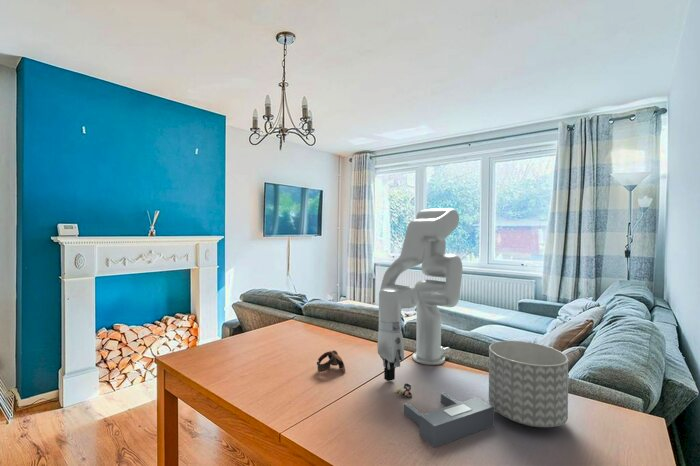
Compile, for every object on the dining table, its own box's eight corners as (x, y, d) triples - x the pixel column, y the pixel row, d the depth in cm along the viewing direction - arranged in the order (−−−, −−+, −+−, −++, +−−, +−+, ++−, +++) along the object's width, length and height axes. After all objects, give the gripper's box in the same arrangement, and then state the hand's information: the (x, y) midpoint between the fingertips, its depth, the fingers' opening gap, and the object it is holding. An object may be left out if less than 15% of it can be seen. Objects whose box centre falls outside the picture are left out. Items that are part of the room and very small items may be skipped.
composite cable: (404, 385, 111) (404, 378, 111) (418, 388, 109) (419, 381, 109) (394, 398, 102) (394, 390, 102) (409, 402, 100) (409, 394, 100)
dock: (450, 399, 101) (451, 381, 101) (493, 425, 88) (493, 405, 88) (396, 415, 92) (396, 396, 92) (434, 447, 79) (434, 425, 79)
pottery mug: (346, 379, 116) (335, 360, 114) (323, 389, 118) (311, 370, 116) (348, 357, 128) (338, 340, 126) (327, 367, 129) (316, 350, 127)
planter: (537, 448, 78) (538, 371, 78) (473, 409, 95) (474, 346, 95) (583, 427, 87) (584, 357, 87) (517, 395, 104) (517, 337, 104)
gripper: (412, 329, 108) (412, 386, 108) (387, 318, 121) (386, 369, 122) (392, 332, 105) (392, 391, 105) (369, 321, 118) (368, 373, 118)
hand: (389, 379), depth 113 cm, fingers closed
